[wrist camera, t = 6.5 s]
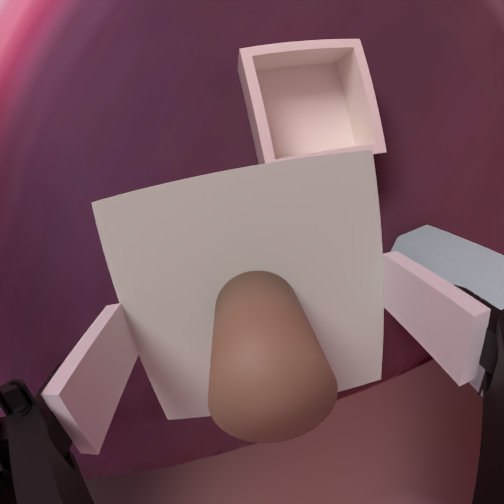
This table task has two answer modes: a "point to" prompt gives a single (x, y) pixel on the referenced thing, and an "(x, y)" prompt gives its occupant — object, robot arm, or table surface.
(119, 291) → the lid
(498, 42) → the table surface
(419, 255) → the water bottle
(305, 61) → the dish
